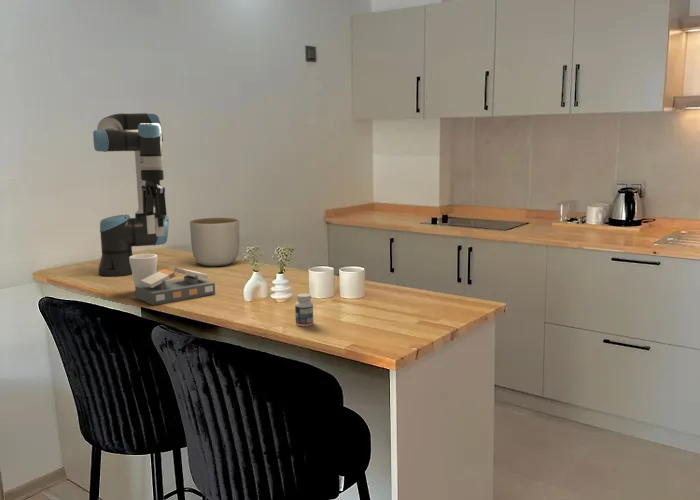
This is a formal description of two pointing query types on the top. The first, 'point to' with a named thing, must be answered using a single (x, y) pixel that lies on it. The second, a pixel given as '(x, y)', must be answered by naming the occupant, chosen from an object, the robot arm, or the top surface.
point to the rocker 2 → (191, 273)
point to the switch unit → (175, 290)
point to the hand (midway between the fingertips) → (155, 234)
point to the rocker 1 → (158, 278)
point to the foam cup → (142, 266)
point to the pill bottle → (304, 310)
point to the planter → (215, 240)
